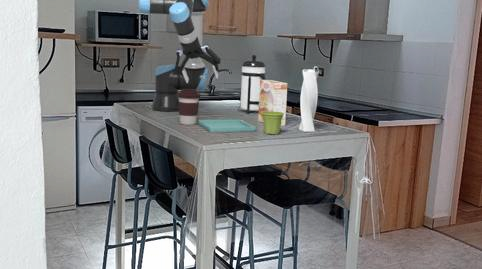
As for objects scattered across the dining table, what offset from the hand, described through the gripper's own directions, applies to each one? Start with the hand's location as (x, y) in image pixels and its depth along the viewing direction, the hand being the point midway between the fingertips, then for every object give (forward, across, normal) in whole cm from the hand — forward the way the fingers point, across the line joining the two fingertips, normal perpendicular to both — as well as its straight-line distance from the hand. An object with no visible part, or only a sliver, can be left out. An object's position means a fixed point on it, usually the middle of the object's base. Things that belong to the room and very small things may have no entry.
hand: (202, 78), depth 220 cm
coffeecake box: (+29, +26, -5) cm, 39 cm away
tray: (+14, +8, -18) cm, 24 cm away
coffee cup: (+13, -9, -14) cm, 21 cm away
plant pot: (+14, +28, -26) cm, 40 cm away
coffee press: (+45, +14, +23) cm, 53 cm away
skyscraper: (+23, +42, -19) cm, 51 cm away
